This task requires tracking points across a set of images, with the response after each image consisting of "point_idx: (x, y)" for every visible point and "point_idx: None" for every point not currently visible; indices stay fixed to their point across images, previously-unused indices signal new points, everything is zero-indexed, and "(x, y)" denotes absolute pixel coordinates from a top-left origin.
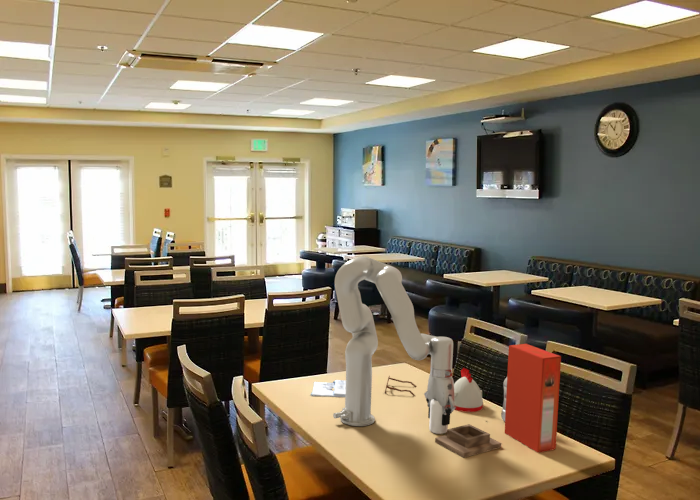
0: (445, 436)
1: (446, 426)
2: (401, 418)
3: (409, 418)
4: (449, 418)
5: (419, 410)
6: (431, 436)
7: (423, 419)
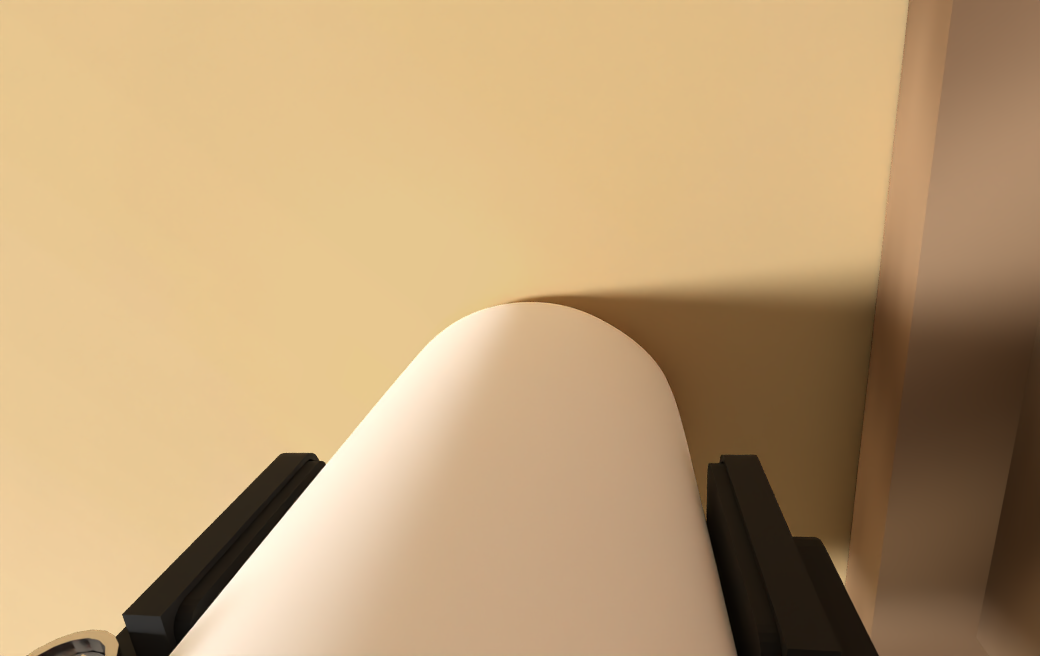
0: (914, 619)
1: (688, 449)
2: (10, 559)
3: (22, 481)
4: (854, 611)
5: None
6: None
7: (81, 341)
